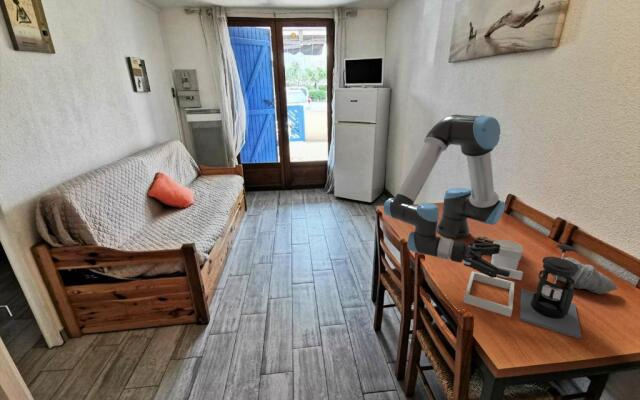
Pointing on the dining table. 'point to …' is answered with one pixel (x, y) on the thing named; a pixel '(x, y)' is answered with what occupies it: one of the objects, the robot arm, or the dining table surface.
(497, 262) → the candle holder
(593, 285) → the seashell
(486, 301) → the holder frame
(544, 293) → the french press
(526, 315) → the slate mat
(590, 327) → the dining table surface
